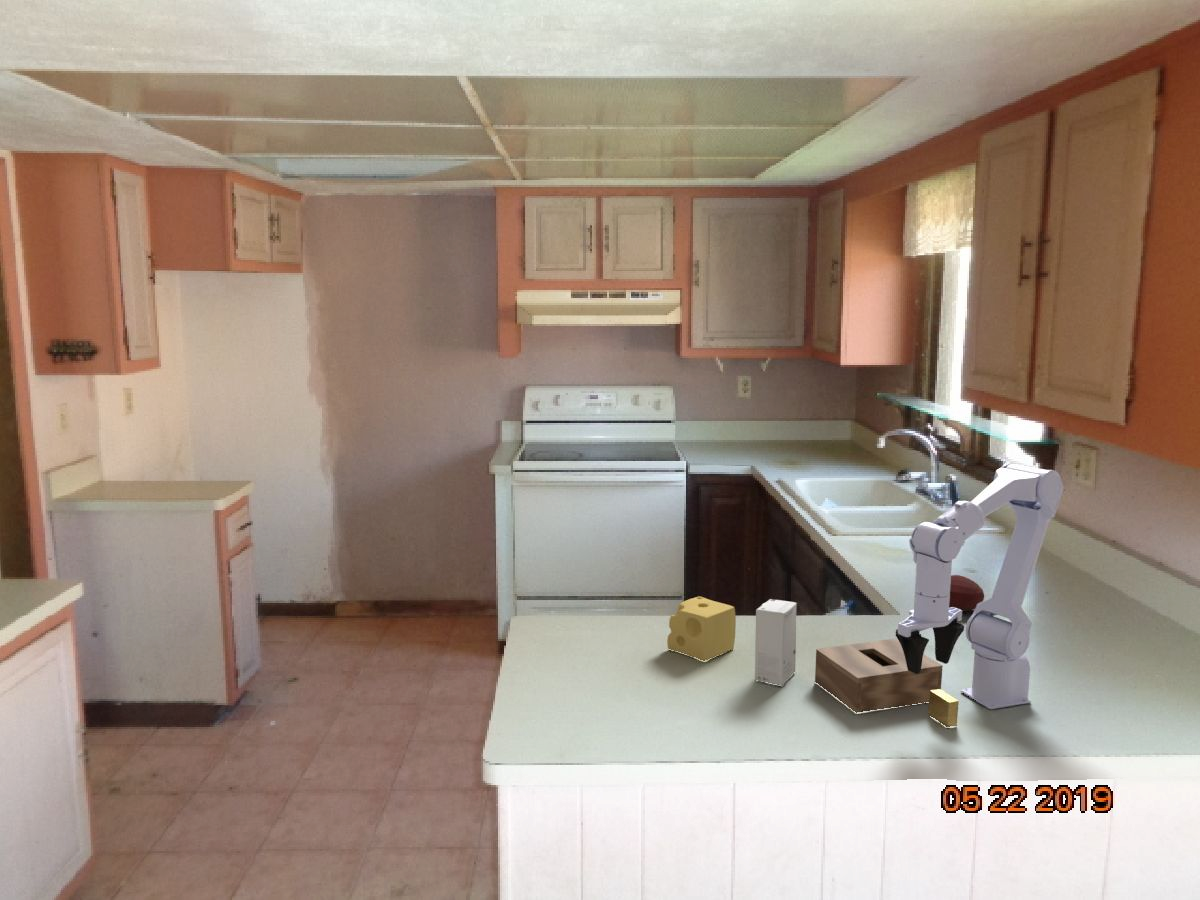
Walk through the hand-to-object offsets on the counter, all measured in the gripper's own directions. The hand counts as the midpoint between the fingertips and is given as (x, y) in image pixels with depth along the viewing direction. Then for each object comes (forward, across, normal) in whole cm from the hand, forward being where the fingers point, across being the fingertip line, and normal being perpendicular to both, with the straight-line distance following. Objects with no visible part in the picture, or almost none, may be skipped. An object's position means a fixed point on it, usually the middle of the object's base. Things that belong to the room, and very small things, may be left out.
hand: (927, 666), depth 158 cm
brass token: (+10, -2, +2) cm, 11 cm away
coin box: (+10, -2, -13) cm, 16 cm away
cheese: (+10, +13, -46) cm, 49 cm away
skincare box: (+10, +10, -28) cm, 31 cm away
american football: (+11, -54, -33) cm, 64 cm away
